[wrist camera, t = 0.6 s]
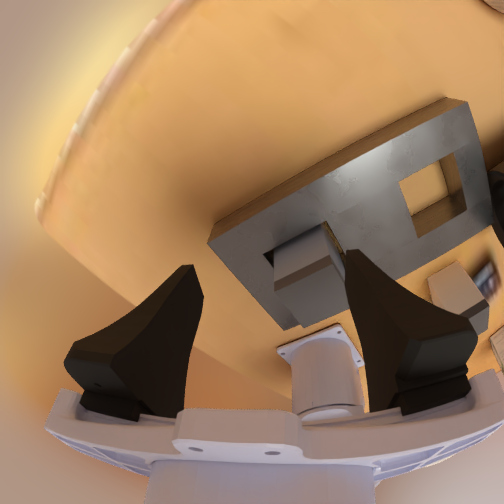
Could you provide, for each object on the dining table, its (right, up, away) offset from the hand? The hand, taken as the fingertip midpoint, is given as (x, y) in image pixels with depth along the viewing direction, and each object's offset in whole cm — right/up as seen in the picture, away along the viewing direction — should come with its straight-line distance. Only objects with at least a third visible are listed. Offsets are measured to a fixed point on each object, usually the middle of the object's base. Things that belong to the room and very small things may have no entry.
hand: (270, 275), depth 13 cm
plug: (+20, -2, +12) cm, 23 cm away
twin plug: (+4, +2, +10) cm, 11 cm away
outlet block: (+8, +4, +8) cm, 12 cm away
